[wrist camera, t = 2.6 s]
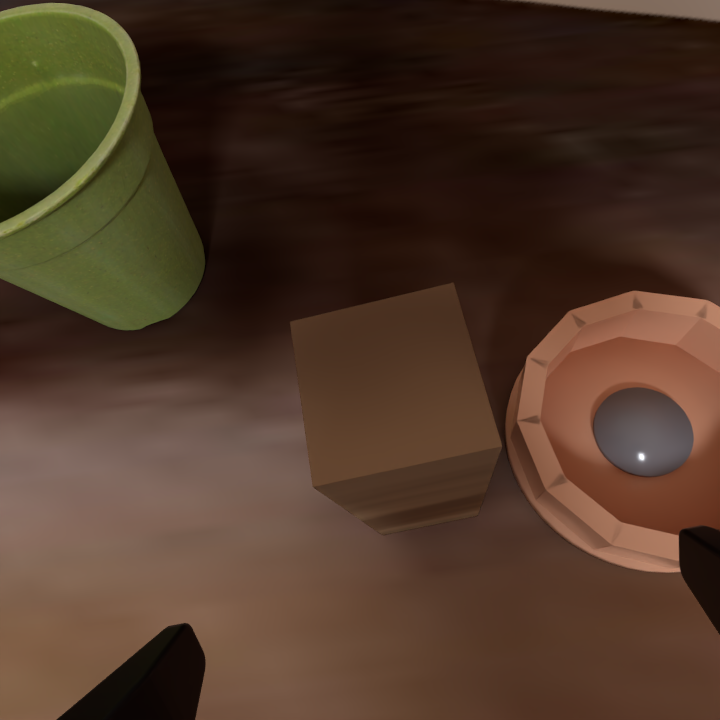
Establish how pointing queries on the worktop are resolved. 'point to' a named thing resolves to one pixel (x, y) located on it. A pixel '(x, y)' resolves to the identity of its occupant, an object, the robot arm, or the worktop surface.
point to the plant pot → (87, 173)
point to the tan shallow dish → (622, 427)
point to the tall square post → (396, 410)
